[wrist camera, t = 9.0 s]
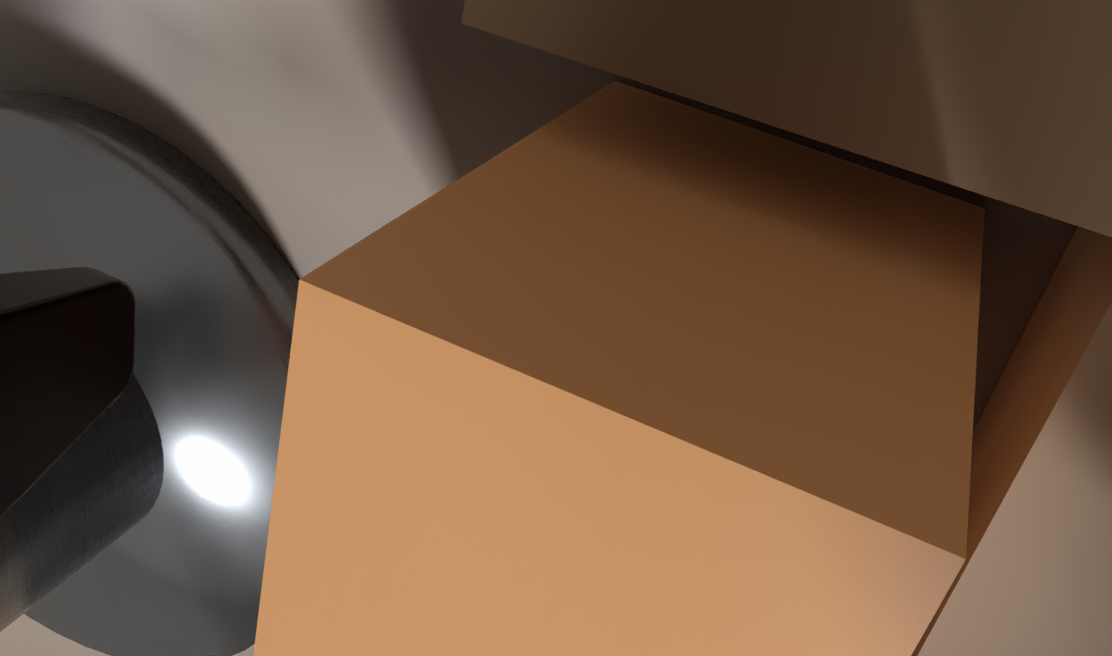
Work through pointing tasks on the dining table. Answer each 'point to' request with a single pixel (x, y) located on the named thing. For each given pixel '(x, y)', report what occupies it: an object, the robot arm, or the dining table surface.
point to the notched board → (961, 160)
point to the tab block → (632, 405)
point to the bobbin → (148, 392)
